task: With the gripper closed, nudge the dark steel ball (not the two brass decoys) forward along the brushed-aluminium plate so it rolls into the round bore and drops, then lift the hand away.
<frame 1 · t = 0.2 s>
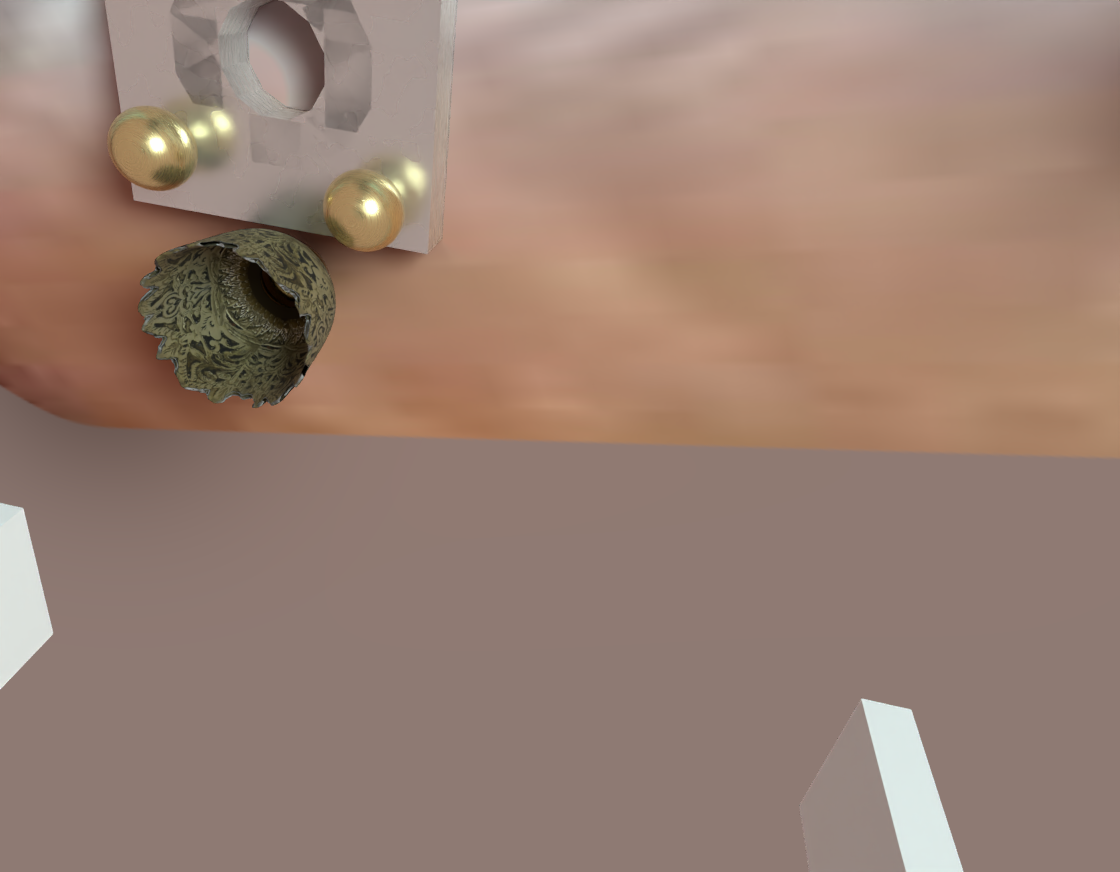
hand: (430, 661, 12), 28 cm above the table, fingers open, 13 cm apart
cup: (301, 270, 39), on the table
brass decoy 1: (153, 149, 33), point 4 cm above the table, touching plate
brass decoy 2: (364, 210, 33), point 4 cm above the table, touching plate
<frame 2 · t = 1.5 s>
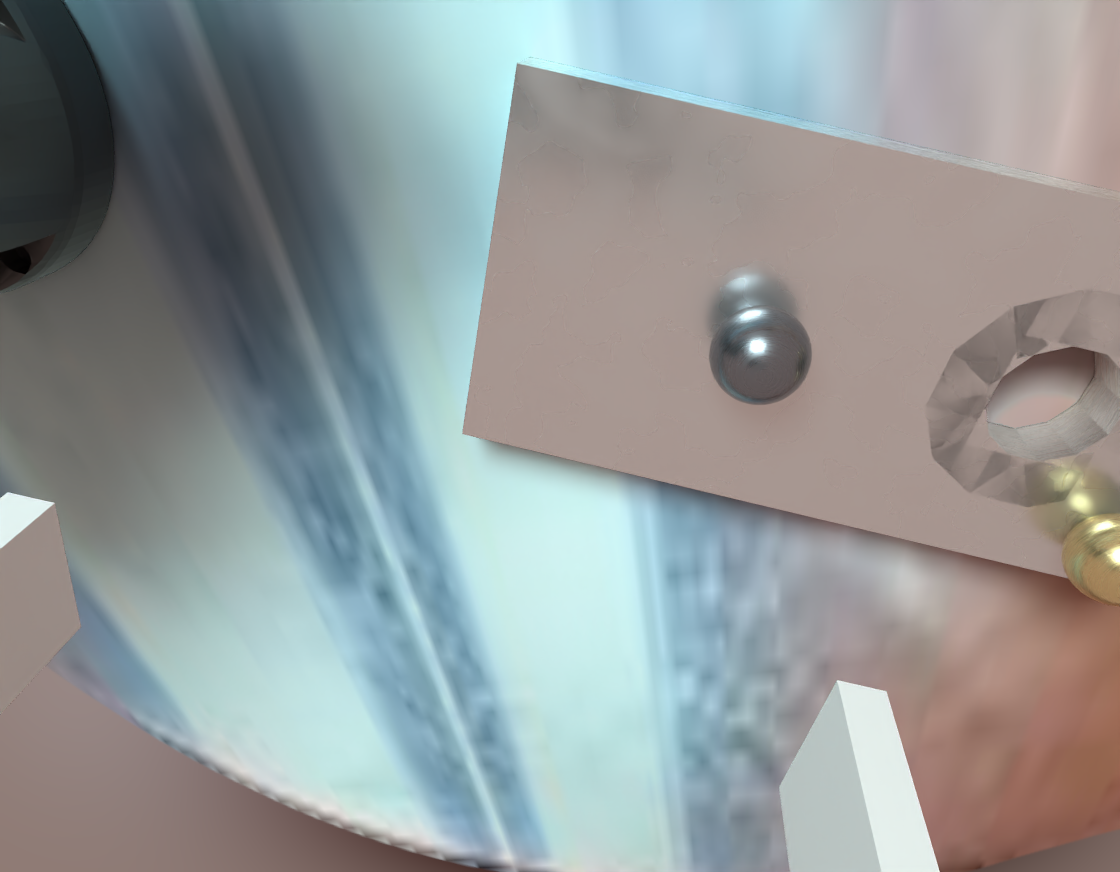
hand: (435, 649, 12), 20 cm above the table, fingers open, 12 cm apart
steel ball: (759, 355, 26), point 4 cm above the table, touching plate
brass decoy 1: (1116, 559, 28), point 4 cm above the table, touching plate
plate: (851, 334, 30), on the table
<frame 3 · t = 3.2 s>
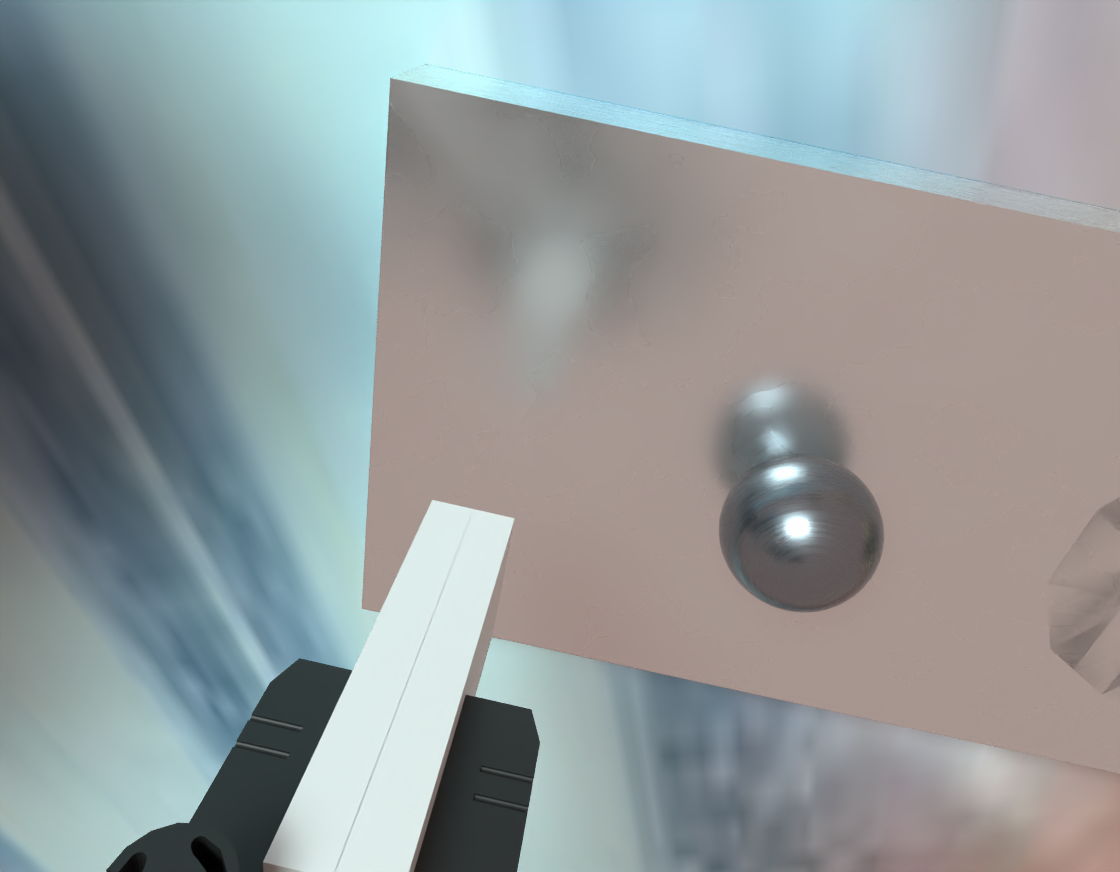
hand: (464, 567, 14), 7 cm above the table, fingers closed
steel ball: (798, 531, 17), point 4 cm above the table, touching plate
plate: (925, 464, 20), on the table
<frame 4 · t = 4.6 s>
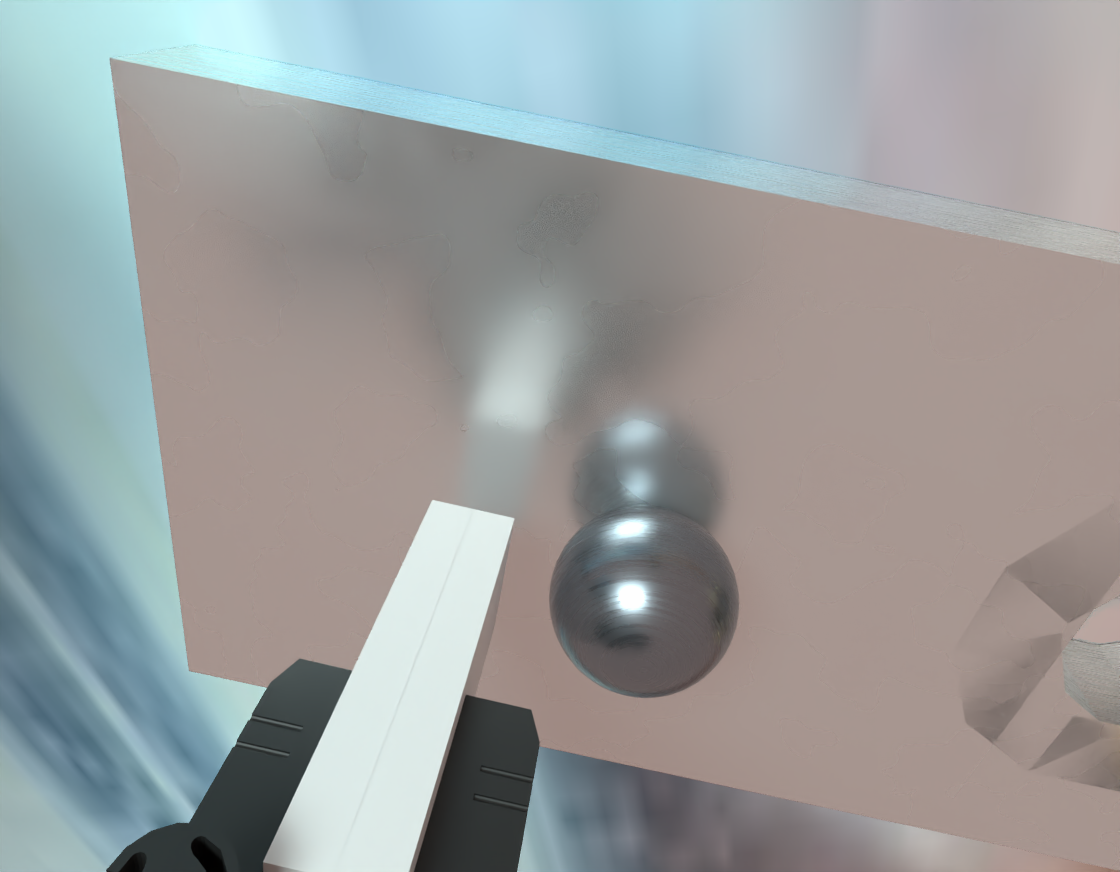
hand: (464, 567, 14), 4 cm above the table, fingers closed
steel ball: (642, 598, 14), point 4 cm above the table, touching plate
plate: (820, 507, 17), on the table
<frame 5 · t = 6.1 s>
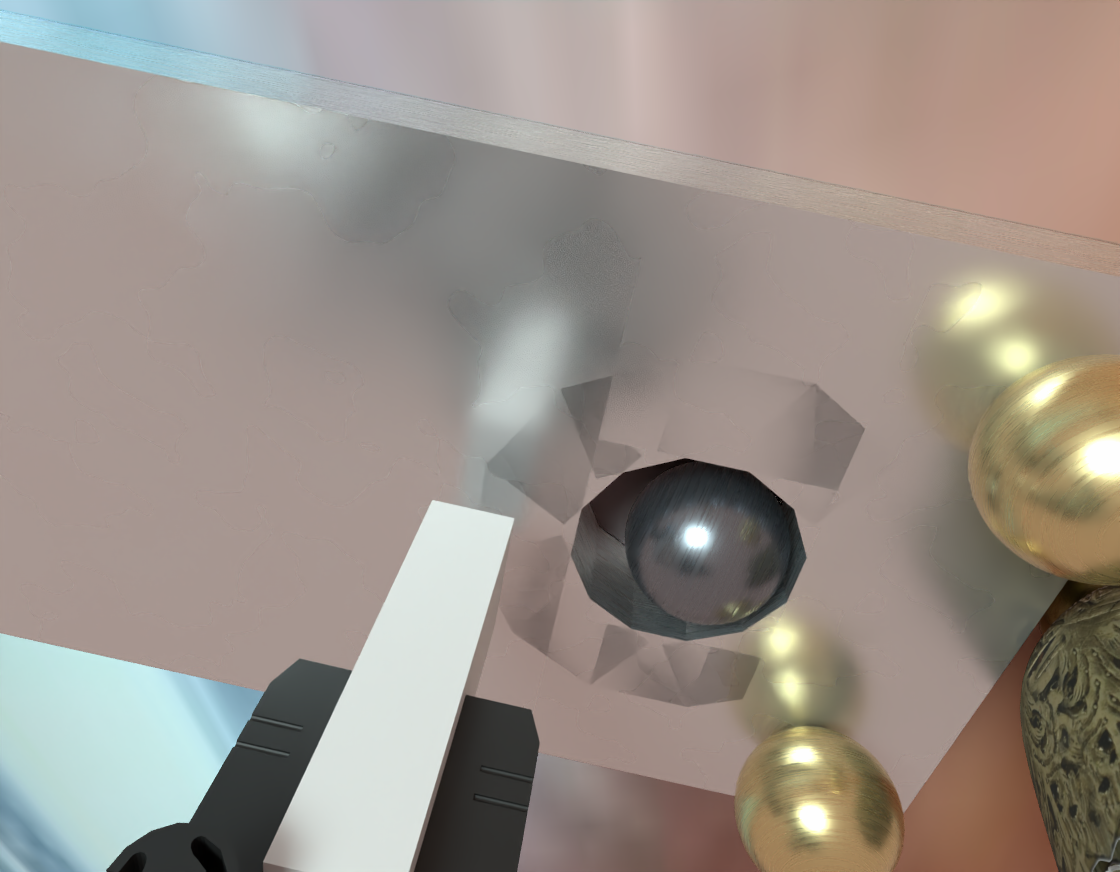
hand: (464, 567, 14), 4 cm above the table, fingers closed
steel ball: (706, 541, 16), point 2 cm above the table, tilted 76°
cup: (1111, 580, 18), on the table
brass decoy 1: (816, 811, 16), point 4 cm above the table, touching plate
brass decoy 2: (1097, 469, 11), point 4 cm above the table, touching plate
plate: (384, 421, 18), on the table
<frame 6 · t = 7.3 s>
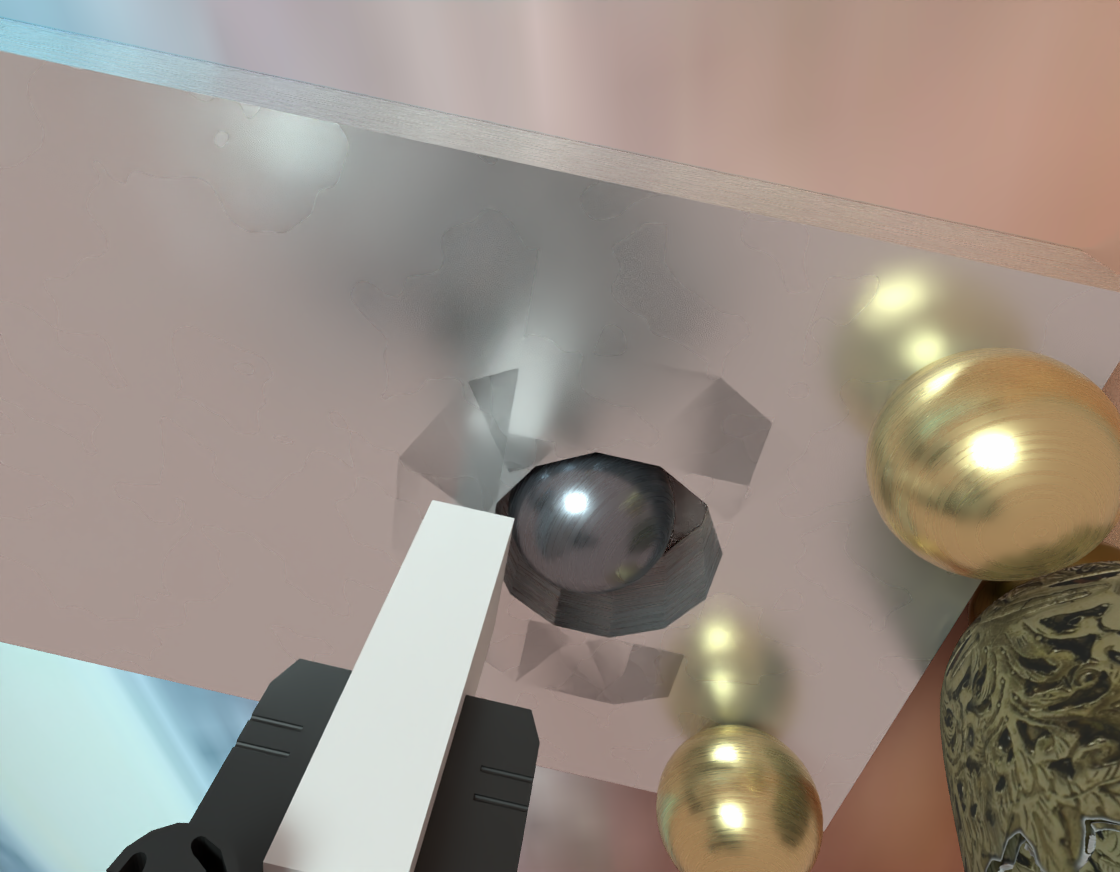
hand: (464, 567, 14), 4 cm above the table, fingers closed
steel ball: (591, 509, 16), point 2 cm above the table, tilted 46°
cup: (1042, 580, 17), on the table
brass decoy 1: (737, 810, 16), point 4 cm above the table, touching plate
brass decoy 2: (989, 463, 11), point 4 cm above the table, touching plate
plate: (311, 414, 18), on the table
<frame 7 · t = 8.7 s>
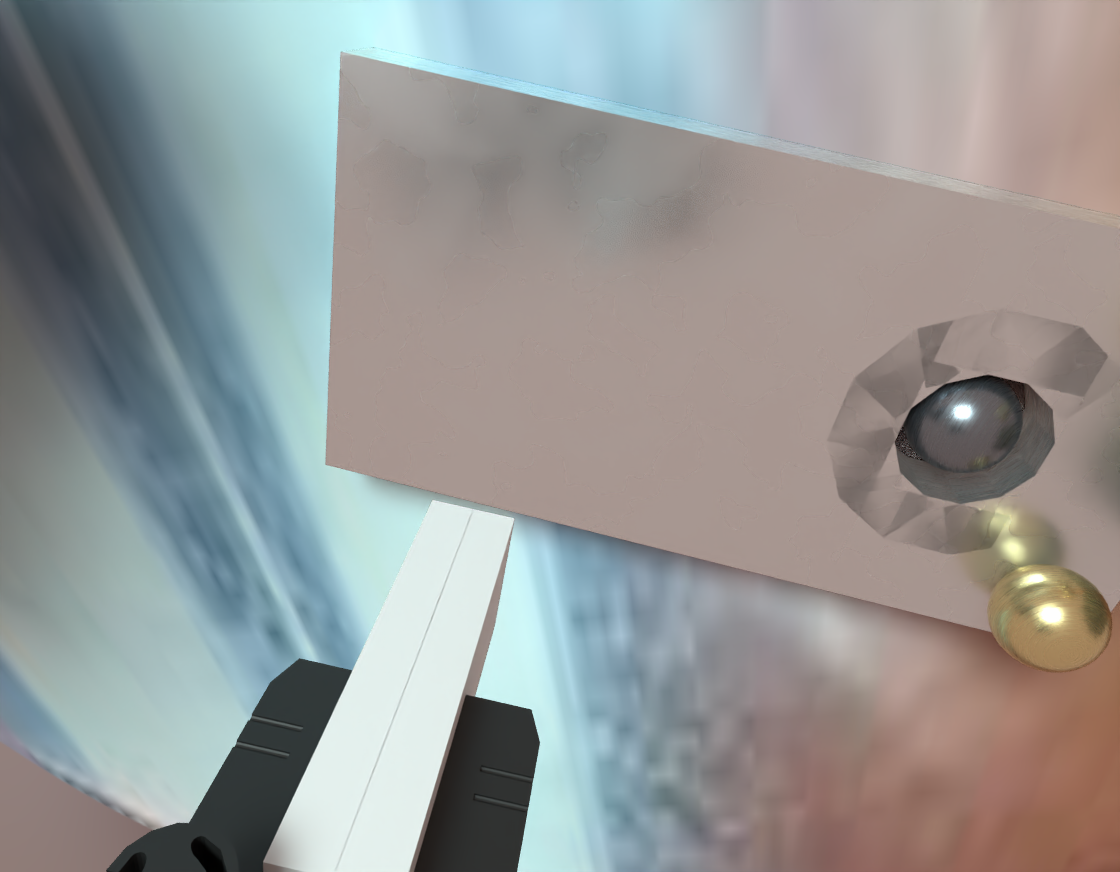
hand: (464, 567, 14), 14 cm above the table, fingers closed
steel ball: (961, 419, 25), point 2 cm above the table, tilted 49°
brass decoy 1: (1047, 617, 25), point 4 cm above the table, touching plate
plate: (750, 358, 27), on the table
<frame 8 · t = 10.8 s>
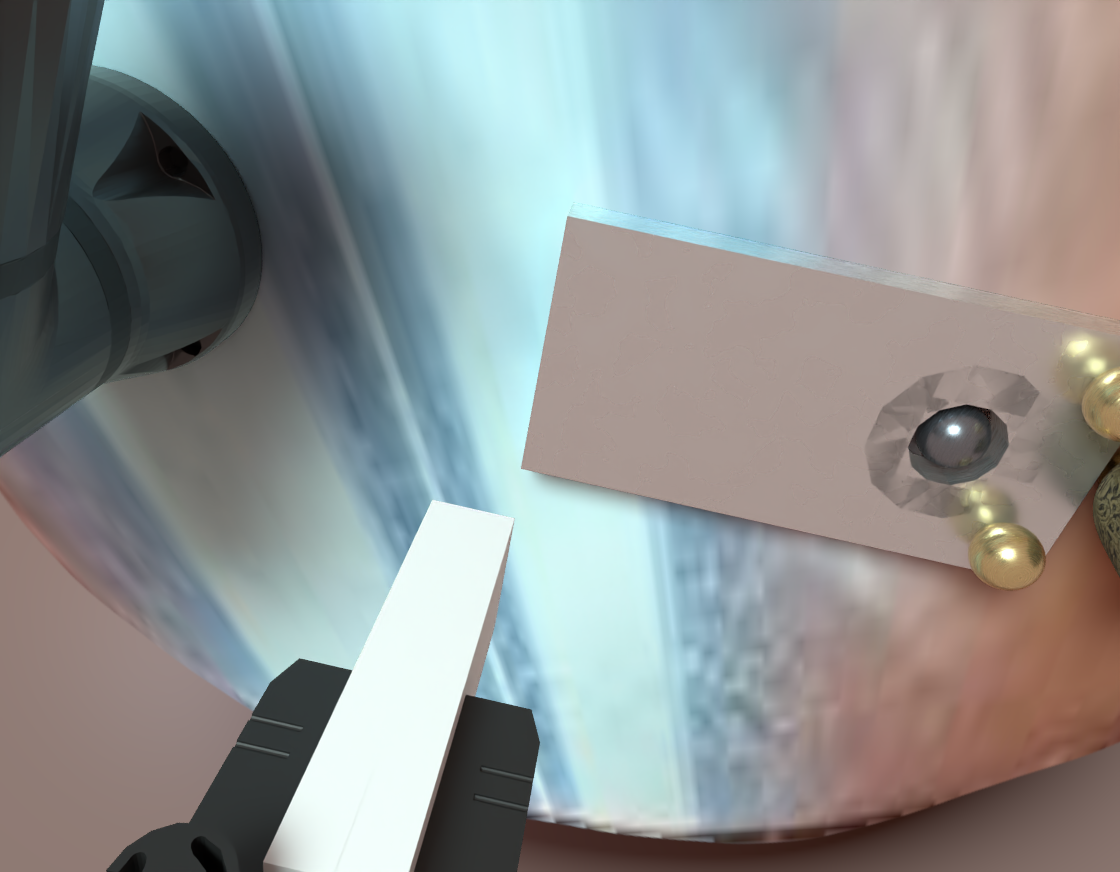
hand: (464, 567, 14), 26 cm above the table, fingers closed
steel ball: (952, 434, 38), point 2 cm above the table, tilted 56°
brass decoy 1: (1005, 556, 39), point 4 cm above the table, touching plate
plate: (810, 392, 40), on the table
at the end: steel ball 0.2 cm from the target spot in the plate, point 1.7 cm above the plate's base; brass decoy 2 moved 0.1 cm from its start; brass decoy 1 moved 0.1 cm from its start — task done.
